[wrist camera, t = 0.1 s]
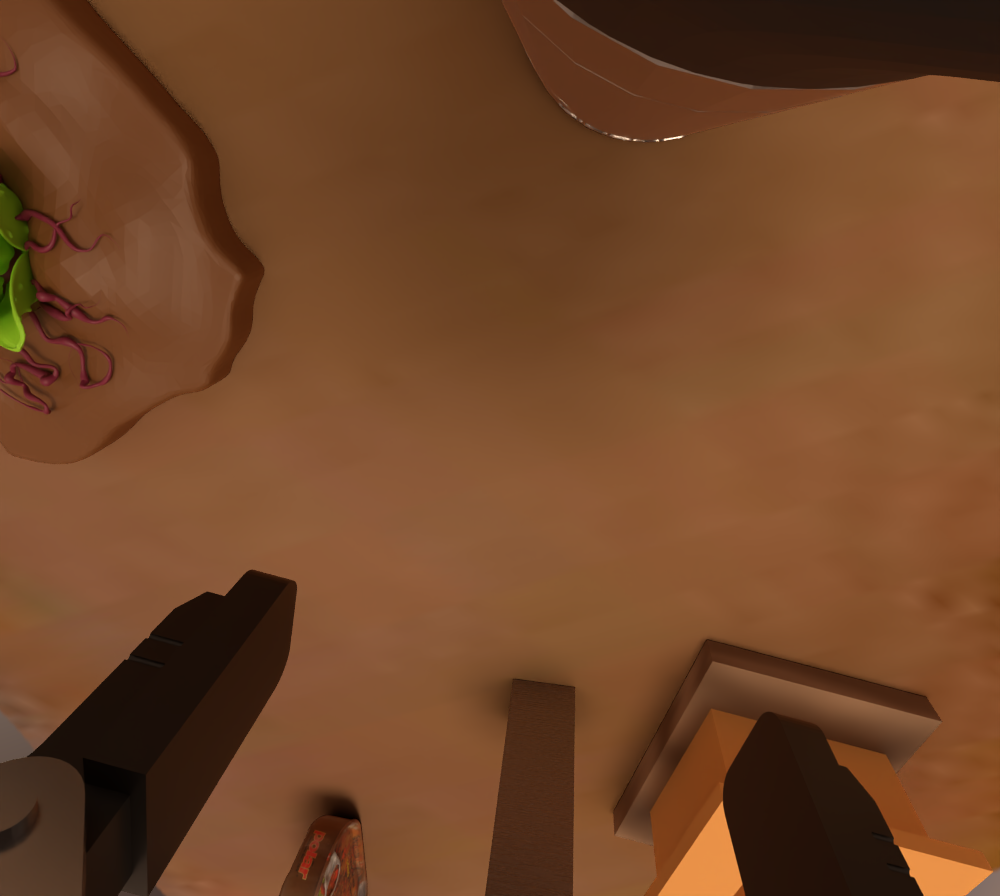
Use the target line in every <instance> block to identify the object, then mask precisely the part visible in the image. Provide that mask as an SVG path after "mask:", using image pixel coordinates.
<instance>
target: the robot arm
mask: <svg viewBox="0 0 1000 896" xmlns="http://www.w3.org/2000/svg"><path fill="white" fill-rule="evenodd" d="M501 1H502V3H503V5H504V7H505V10H506V12H507V14H508V16H509V18H510V20H511V22H512V24H513V26H514V28H515V30H516V32H517V34H518V36H519V38H520V41H521V43H522V45H523V47H524V49H525V51H526V53H527V55H528V57H529V59H530V61H531V63H532V65H533V67H534V69H535V71H536V72H537V74H538V76H539V78H540V79H541V81H542V83H543V85H544V87H545V88H546V90H547V92H548V93H549V94H550V95H551V96H552V97H553V98H554V100H555V101H556V102H557V103H558V105H559V106H560V107H561V108H563V110H564V111H565V112H566V113H567V114H569V115H570V116H572V117H573V118H574V119H576V120H577V121H579V122H580V123H582V124H583V125H584V126H586V127H587V128H589V129H591V130H594V131H596V132H599V133H601V134H604V135H606V136H609V137H612V138H615V139H622V140H627V141H637V142H654V141H657V142H659V141H665V140H671V139H676V138H681V137H685V136H686V135H689V134H693V133H697V132H701V131H705V130H709V129H713V128H717V127H721V126H725V125H729V124H733V123H737V122H741V121H745V120H749V119H753V118H757V117H761V116H765V115H769V114H773V113H777V112H781V111H785V110H789V109H793V108H797V107H801V106H805V105H809V104H813V103H817V102H821V101H825V100H829V99H833V98H837V97H841V96H843V95H847V94H851V93H855V92H859V91H863V90H867V89H871V88H875V87H879V86H883V85H887V84H891V83H895V82H899V81H903V80H908V79H913V78H918V77H922V76H926V75H941V76H951V77H961V78H970V79H978V80H987V81H996V82H1000V0H501ZM296 593H297V585H296V582H295V581H293V580H289V579H286V578H282V577H278V576H274V575H271V574H267V573H263V572H260V571H256V570H249V571H248V572H246V573H245V574H244V575H243V576H242V577H241V578H240V580H239V581H238V582H237V583H236V584H235V585H234V586H233V588H232V589H231V590H230V591H229V592H228V593H227V594H226V595H225V596H222V595H218V594H214V593H211V592H205V593H203V594H202V595H200V596H198V597H196V598H194V599H192V600H190V601H188V602H186V603H185V604H183V605H181V606H179V607H177V608H175V609H174V610H173V611H172V612H171V613H170V614H169V615H168V616H167V617H166V618H165V619H164V620H163V621H162V622H161V623H160V624H159V625H158V626H157V627H156V628H155V629H154V630H153V631H152V632H151V634H150V637H149V638H148V639H147V638H145V639H144V640H143V641H142V642H141V644H140V645H139V646H138V647H137V648H136V649H135V650H134V651H133V652H132V653H131V654H130V657H129V658H128V660H124V661H123V662H122V663H121V664H120V665H119V666H118V667H117V668H116V669H115V670H114V671H113V672H112V673H111V674H110V675H109V676H108V677H107V678H106V679H105V680H104V681H103V682H102V683H101V684H100V685H99V686H98V687H97V688H96V689H95V690H94V691H93V692H92V694H91V695H90V696H89V697H88V698H87V699H86V700H85V701H84V702H83V703H82V704H81V705H80V706H79V707H78V708H77V709H76V710H75V711H74V712H73V713H72V714H71V715H70V716H69V717H68V718H67V719H66V720H65V721H64V722H63V723H62V724H61V725H60V726H59V727H58V728H57V729H56V730H55V731H54V732H53V733H52V734H51V735H50V736H49V737H48V738H47V739H46V740H45V741H44V742H43V743H42V744H41V745H40V746H39V747H38V748H37V749H36V750H35V751H34V752H33V753H31V754H30V755H29V756H27V757H24V758H19V759H13V760H10V761H6V762H3V763H0V896H118V895H119V893H120V892H121V891H124V892H128V893H132V894H136V895H139V896H149V895H150V893H151V891H152V890H153V888H154V886H155V885H156V883H157V882H158V880H159V878H160V877H161V875H162V873H163V872H164V870H165V868H166V867H167V865H168V863H169V862H170V860H171V859H172V857H173V855H174V854H175V852H176V850H177V849H178V847H179V845H180V844H181V842H182V841H183V839H184V837H185V836H186V834H187V832H188V831H189V829H190V827H191V826H192V824H193V822H194V821H195V819H196V818H197V816H198V814H199V813H200V811H201V809H202V808H203V806H204V804H205V803H206V801H207V800H208V798H209V796H210V795H211V793H212V791H213V790H214V788H215V786H216V785H217V783H218V781H219V780H220V778H221V777H222V775H223V773H224V772H225V770H226V768H227V767H228V765H229V763H230V762H231V760H232V759H233V757H234V755H235V754H236V752H237V750H238V749H239V747H240V745H241V744H242V742H243V740H244V739H245V737H246V736H247V734H248V732H249V731H250V729H251V727H252V726H253V724H254V722H255V721H256V719H257V717H258V716H259V714H260V713H261V711H262V709H263V708H264V706H265V704H266V703H267V701H268V699H269V698H270V696H271V695H272V693H273V691H274V690H275V688H276V686H277V684H278V682H279V680H280V678H281V676H282V673H283V671H284V668H285V665H286V662H287V659H288V655H289V650H290V643H291V635H292V626H293V618H294V610H295V601H296ZM723 808H724V813H725V818H726V822H727V825H728V829H729V833H730V837H731V841H732V845H733V849H734V853H735V857H736V861H737V865H738V869H739V872H740V876H741V880H742V884H743V888H744V892H745V896H924V895H923V893H922V891H921V889H920V887H919V885H918V883H917V881H916V879H915V878H914V877H911V876H910V873H909V871H910V868H909V866H908V864H907V862H906V860H905V858H904V856H903V854H902V852H901V850H900V848H899V846H898V845H895V844H894V841H893V840H894V837H893V835H892V833H891V831H890V829H889V827H888V825H887V823H886V821H885V819H884V817H883V815H882V813H881V811H880V809H879V808H878V806H877V804H876V802H875V800H874V799H873V798H872V797H871V796H870V794H869V793H868V792H867V791H866V790H865V788H864V787H863V786H862V785H861V784H860V782H859V781H858V780H857V779H856V778H855V776H854V775H853V774H852V773H851V772H850V770H849V769H848V768H847V767H844V766H841V765H839V764H838V762H837V760H836V758H835V756H834V754H833V752H832V749H831V747H830V745H829V743H828V741H827V739H826V737H825V735H824V733H823V732H822V730H821V729H820V728H819V727H818V726H817V725H816V724H814V723H810V722H807V721H803V720H799V719H796V718H792V717H788V716H785V715H781V714H777V713H774V712H769V711H768V712H765V713H763V714H762V715H761V716H760V717H759V719H758V720H757V722H756V724H755V725H754V727H753V729H752V730H751V732H750V734H749V735H748V737H747V739H746V741H745V742H744V744H743V746H742V747H741V749H740V751H739V752H738V754H737V756H736V757H735V759H734V761H733V763H732V764H731V766H730V768H729V769H728V771H727V774H726V777H725V781H724V786H723Z"/></svg>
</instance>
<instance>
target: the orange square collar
mask: <svg viewBox="0 0 1000 896" xmlns="http://www.w3.org/2000/svg"><path fill="white" fill-rule="evenodd" d="M756 722H757V720H753V719H749V718H745V717H742V716H738V715H734V714H730V713H726V712H723V711H719V710H715V709H711V710H710V711H709V713H708V715H707V716H706V718H705V720H704V721H703V723H702V725H701V727H700V728H699V730H698V732H697V733H696V735H695V737H694V738H693V740H692V742H691V743H690V745H689V747H688V748H687V750H686V752H685V754H684V755H683V757H682V759H681V760H680V762H679V764H678V765H677V767H676V769H675V770H674V772H673V774H672V775H671V777H670V779H669V781H668V782H667V784H666V786H665V787H664V789H663V791H662V792H661V794H660V796H659V797H658V799H657V801H656V802H655V804H654V806H653V807H652V809H651V811H650V816H651V825H652V834H653V843H654V853H655V862H656V871H657V877H656V878H655V880H654V881H653V883H652V885H651V886H650V888H649V889H648V891H647V892H646V894H645V895H644V896H745V892H744V888H743V884H742V880H741V876H740V872H739V869H738V865H737V861H736V857H735V853H734V849H733V845H732V841H731V837H730V833H729V829H728V825H727V822H726V818H725V813H724V808H723V786H724V781H725V777H726V774H727V771H728V769H729V768H730V766H731V764H732V763H733V761H734V759H735V757H736V756H737V754H738V752H739V751H740V749H741V747H742V746H743V744H744V742H745V741H746V739H747V737H748V735H749V734H750V732H751V730H752V729H753V727H754V725H755V724H756ZM827 741H828V743H829V745H830V747H831V749H832V752H833V754H834V756H835V758H836V760H837V762H838V764H839V765H841V766H844V767H847V768H848V769H849V770H850V772H851V773H852V774H853V775H854V776H855V778H856V779H857V780H858V781H859V782H860V784H861V785H862V786H863V787H864V788H865V790H866V791H867V792H868V793H869V794H870V796H871V797H872V798H873V799H874V800H875V802H876V804H877V806H878V808H879V809H880V811H881V813H882V815H883V817H884V819H885V821H886V823H887V825H888V827H889V829H890V831H891V833H892V835H893V837H894V840H893V841H894V844H895V845H898V846H899V848H900V850H901V852H902V854H903V856H904V858H905V860H906V862H907V864H908V866H909V868H910V871H909V873H910V876H911V877H914V878H915V879H916V881H917V883H918V885H919V887H920V889H921V891H922V893H923V895H924V896H965V895H967V894H968V893H969V892H970V891H971V890H972V889H974V888H975V887H976V886H977V885H978V884H979V883H981V882H982V881H983V880H984V879H985V878H986V877H988V876H989V875H990V874H991V873H992V872H993V870H992V868H991V867H990V865H989V863H988V862H987V860H986V858H985V856H984V855H983V853H982V852H980V851H977V850H973V849H969V848H965V847H962V846H958V845H954V844H950V843H946V842H943V841H939V840H935V839H931V838H929V837H928V835H927V833H926V831H925V829H924V827H923V825H922V823H921V821H920V820H919V818H918V816H917V814H916V812H915V810H914V808H913V806H912V804H911V802H910V800H909V798H908V796H907V794H906V792H905V790H904V789H903V787H902V785H901V783H900V781H899V779H898V777H897V775H896V773H895V771H894V769H893V767H892V765H891V763H890V761H889V759H888V758H887V756H886V755H885V754H882V753H878V752H874V751H870V750H866V749H863V748H859V747H855V746H851V745H848V744H844V743H840V742H836V741H832V740H829V739H827Z"/></svg>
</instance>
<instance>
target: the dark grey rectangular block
mask: <svg viewBox="0 0 1000 896" xmlns="http://www.w3.org/2000/svg"><path fill="white" fill-rule="evenodd" d="M574 724H575V687H569V686H561V685H554V684H547V683H539V682H532V681H525V680H517V679H513V685H512V692H511V700H510V708H509V715H508V723H507V731H506V738H505V746H504V754H503V762H502V769H501V777H500V785H499V792H498V800H497V808H496V815H495V823H494V831H493V839H492V846H491V854H490V862H489V869H488V877H487V885H486V892H485V896H573V819H574Z"/></svg>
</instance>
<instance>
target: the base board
mask: <svg viewBox="0 0 1000 896" xmlns="http://www.w3.org/2000/svg"><path fill="white" fill-rule="evenodd" d="M711 709H715V710H719V711H723V712H726V713H730V714H734V715H738V716H742V717H745V718H749V719H753V720H758V719H759V717H760V716H761V715H762V714H763V713H765V712H768V711H769V712H774V713H777V714H781V715H785V716H788V717H792V718H796V719H799V720H803V721H807V722H810V723H814V724H816V725H817V726H818V727H819V728H820V729H821V730H822V732H823V733H824V735H825V737H826V739H829V740H832V741H836V742H840V743H844V744H848V745H851V746H855V747H859V748H863V749H866V750H870V751H874V752H878V753H882V754H885V755H886V756H887V758H888V759H889V761H890V763H891V765H892V767H893V769H894V771H895V773H897V772H898V771H899V770H900V769H901V768H902V767H903V765H904V764H905V763H906V762H907V761H908V760H909V759H910V758H911V756H912V755H913V754H914V753H915V752H916V751H917V750H918V749H919V747H920V746H921V745H922V744H923V743H924V742H925V741H926V739H927V738H928V737H929V736H930V735H931V734H932V733H933V732H934V730H935V729H936V728H937V727H938V726H939V725H940V724H941V723H942V721H941V719H940V717H939V716H938V714H937V713H936V711H935V710H934V708H933V707H932V705H931V704H930V702H929V700H928V699H927V697H923V696H919V695H916V694H912V693H908V692H904V691H900V690H897V689H893V688H889V687H885V686H881V685H878V684H874V683H870V682H866V681H862V680H859V679H855V678H851V677H847V676H843V675H840V674H836V673H832V672H828V671H824V670H821V669H817V668H813V667H809V666H805V665H802V664H798V663H794V662H790V661H786V660H783V659H779V658H775V657H771V656H767V655H764V654H760V653H756V652H752V651H748V650H745V649H741V648H737V647H733V646H729V645H726V644H722V643H718V642H714V641H710V640H706V642H705V644H704V646H703V648H702V650H701V651H700V653H699V655H698V657H697V659H696V661H695V663H694V664H693V666H692V668H691V670H690V672H689V674H688V675H687V677H686V679H685V681H684V683H683V685H682V687H681V688H680V690H679V692H678V694H677V696H676V698H675V699H674V701H673V703H672V705H671V707H670V709H669V710H668V712H667V714H666V716H665V718H664V720H663V722H662V723H661V725H660V727H659V729H658V731H657V733H656V734H655V736H654V738H653V740H652V742H651V744H650V745H649V747H648V749H647V751H646V753H645V755H644V757H643V758H642V760H641V762H640V764H639V766H638V768H637V769H636V771H635V773H634V775H633V777H632V779H631V781H630V782H629V784H628V786H627V788H626V790H625V792H624V793H623V795H622V797H621V799H620V801H619V803H618V804H617V806H616V808H615V810H614V812H613V814H614V833H615V836H618V837H622V838H625V839H629V840H633V841H637V842H640V843H644V844H648V845H652V846H654V843H653V834H652V825H651V816H650V811H651V809H652V807H653V806H654V804H655V802H656V801H657V799H658V797H659V796H660V794H661V792H662V791H663V789H664V787H665V786H666V784H667V782H668V781H669V779H670V777H671V775H672V774H673V772H674V770H675V769H676V767H677V765H678V764H679V762H680V760H681V759H682V757H683V755H684V754H685V752H686V750H687V748H688V747H689V745H690V743H691V742H692V740H693V738H694V737H695V735H696V733H697V732H698V730H699V728H700V727H701V725H702V723H703V721H704V720H705V718H706V716H707V715H708V713H709V711H710V710H711Z"/></svg>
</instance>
